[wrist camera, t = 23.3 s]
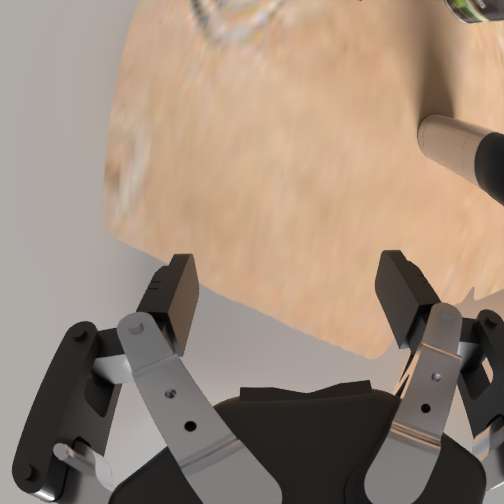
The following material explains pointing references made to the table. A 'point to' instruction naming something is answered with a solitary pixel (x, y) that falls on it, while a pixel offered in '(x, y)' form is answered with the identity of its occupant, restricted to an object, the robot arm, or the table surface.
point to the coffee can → (477, 10)
